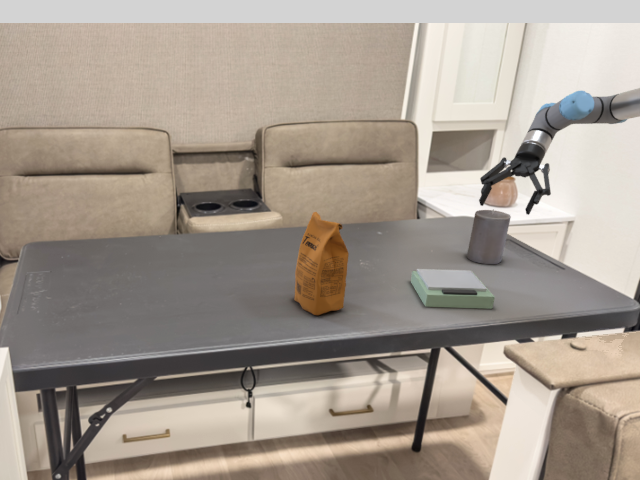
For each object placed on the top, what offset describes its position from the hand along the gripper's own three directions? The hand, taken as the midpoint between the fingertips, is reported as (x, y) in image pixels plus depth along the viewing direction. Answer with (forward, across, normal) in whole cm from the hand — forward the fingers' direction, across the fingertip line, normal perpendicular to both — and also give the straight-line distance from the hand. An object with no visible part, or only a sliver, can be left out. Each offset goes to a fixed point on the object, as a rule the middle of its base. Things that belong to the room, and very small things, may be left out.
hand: (503, 207), depth 172 cm
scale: (+39, -5, +19) cm, 43 cm away
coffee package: (+60, +15, +39) cm, 73 cm away
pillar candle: (+16, 0, -5) cm, 16 cm away
